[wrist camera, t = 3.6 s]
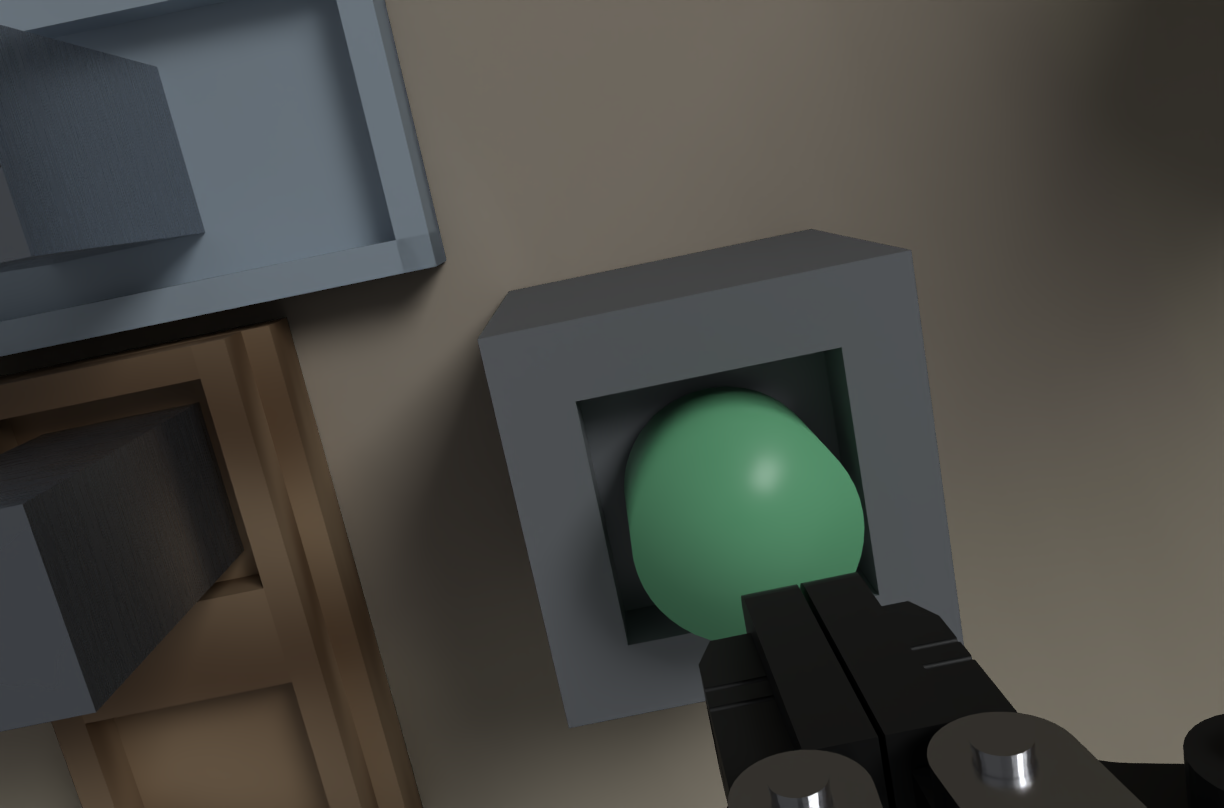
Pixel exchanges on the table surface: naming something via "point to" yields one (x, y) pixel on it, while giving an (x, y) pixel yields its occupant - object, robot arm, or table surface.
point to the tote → (245, 162)
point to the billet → (85, 155)
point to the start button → (734, 507)
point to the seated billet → (103, 555)
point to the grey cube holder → (691, 361)
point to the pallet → (236, 600)
